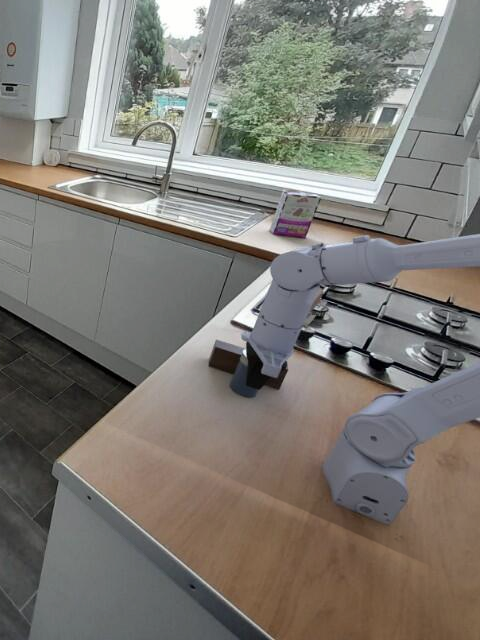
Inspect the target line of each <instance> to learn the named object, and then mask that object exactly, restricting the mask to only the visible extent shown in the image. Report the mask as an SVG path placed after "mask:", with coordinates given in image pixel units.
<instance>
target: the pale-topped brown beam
mask: <svg viewBox="0 0 480 640" xmlns="http://www.w3.org/2000/svg"><path fill="white" fill-rule="evenodd" d="M244 349H246V347H242V346H238V345H236V344H232V343H229V342H226V341H223V340H220V339H215V341H214V344H213V346H212V350H211V352H210V355H209V357H208V364H207V365H208V367H209V368H212V369H215V370H218V371H220V372H225V373H228V374H230V375H233V374H234V372H235V369H236V367H237V364H238V361H239V359H240V356H241V354H242V351H243V350H244ZM288 372H289V366H288V363H287V368H286V369H285V370H283V371H281V372H280V373H279V375H278V377H277V378H274V377H272V378H270V380H269V381H268V382H267V383H266V384H265V385H264V386H266V387H269V388H272V389H275V390H278V391H280V389H281V387H282V384H283V383H284V380H285V378H286V376H287V375H288Z"/></svg>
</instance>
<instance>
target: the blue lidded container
mask: <svg viewBox="0 0 480 640" xmlns="http://www.w3.org/2000/svg"><path fill="white" fill-rule="evenodd" d="M247 365H248V360H247V355H246V349H244V350H243V351H242V354H241V356H240V359H239V361H238V364H237V367H236V369H235V372H234V374H232V377H231V379H230V382H229V385H228V386H229V388H230V390H231V391H232V392H233V393H235V394H236V395H238V396H241V397H242V398H247V399H253V398H256V397H257V394H258V393H259V390H258V389H255V388H252V387H249V386H246V371H247Z"/></svg>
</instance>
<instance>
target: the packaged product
mask: <svg viewBox="0 0 480 640" xmlns="http://www.w3.org/2000/svg"><path fill="white" fill-rule="evenodd" d="M324 292H325V291H324V290H323V289H322V288H320V287H319V289H318V291H317V294H316V296H315V298H314V302H313V304H312V306H311V309H310V311H309V312H311V311H312V310H313V309H314V307H315V306H316V305H317V304H318V303H319V304H320V306H322V307H323V309H324V308H325V307H326V305H327V304H328V301H326V300H324V299H321V298H322V297H323V295H324ZM319 314H320V313H318V314H317V315H312V314H309V313H308V315H307V317H306V320H305V322H304V324H303V326H304V327H306V328H307V327H308V326H309V325H310V323H312V321H314V320H315V318H316V317H317V316H318V315H319Z"/></svg>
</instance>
